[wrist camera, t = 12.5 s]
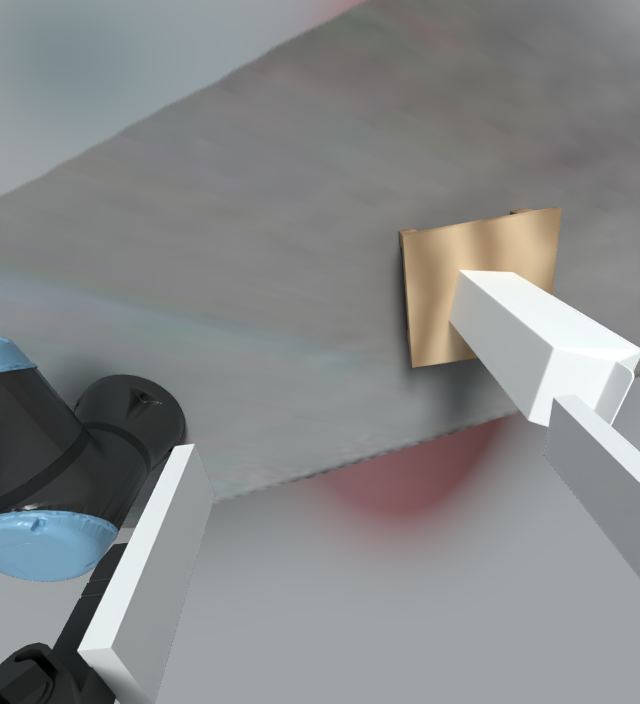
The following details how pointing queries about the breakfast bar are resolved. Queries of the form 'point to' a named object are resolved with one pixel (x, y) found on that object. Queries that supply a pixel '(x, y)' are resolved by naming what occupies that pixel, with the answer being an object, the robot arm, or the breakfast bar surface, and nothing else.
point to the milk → (541, 345)
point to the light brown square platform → (469, 254)
